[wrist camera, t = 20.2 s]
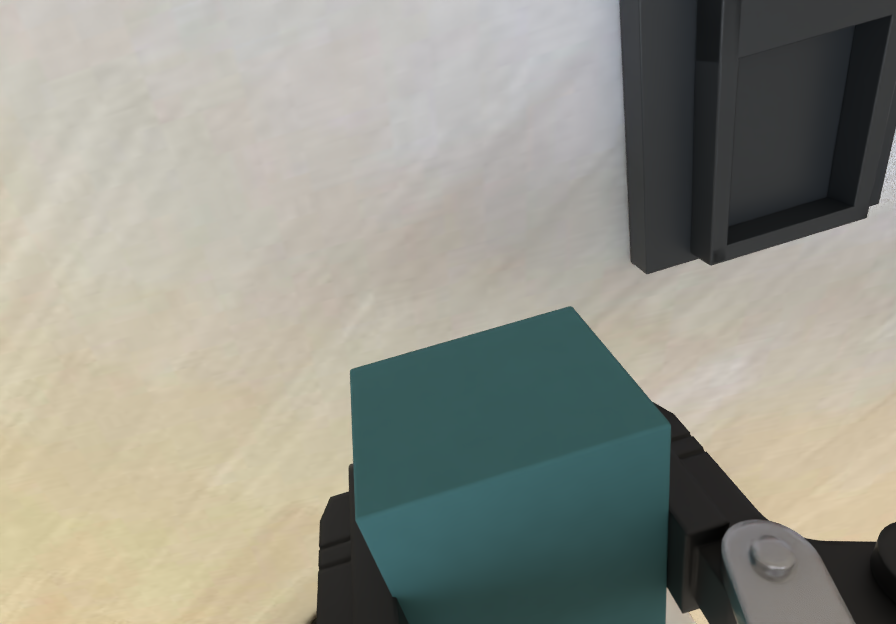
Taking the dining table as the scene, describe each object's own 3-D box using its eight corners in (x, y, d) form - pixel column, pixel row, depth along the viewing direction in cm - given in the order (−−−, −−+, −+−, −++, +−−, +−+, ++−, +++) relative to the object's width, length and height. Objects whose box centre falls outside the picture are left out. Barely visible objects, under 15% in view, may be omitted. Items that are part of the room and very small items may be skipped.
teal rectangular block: (348, 368, 10) (353, 522, 7) (571, 304, 10) (673, 423, 7) (422, 553, 13) (448, 714, 10) (590, 500, 13) (666, 642, 10)
